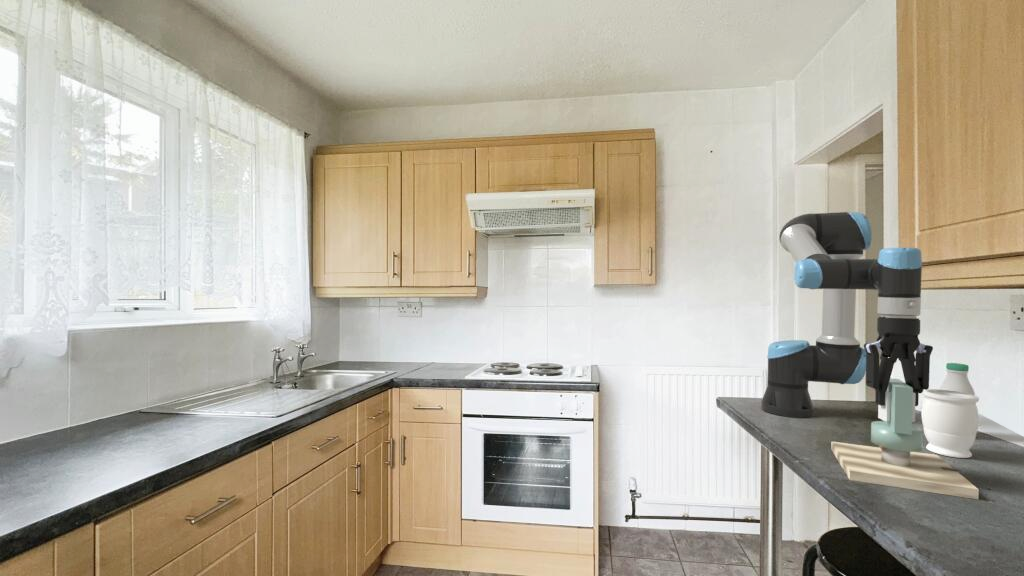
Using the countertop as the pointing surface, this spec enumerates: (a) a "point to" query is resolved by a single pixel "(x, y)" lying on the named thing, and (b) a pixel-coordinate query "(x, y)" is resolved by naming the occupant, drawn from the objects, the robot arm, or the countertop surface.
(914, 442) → the mint bar with ball
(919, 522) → the countertop surface
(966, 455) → the jar
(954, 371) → the milk bottle
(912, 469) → the base
